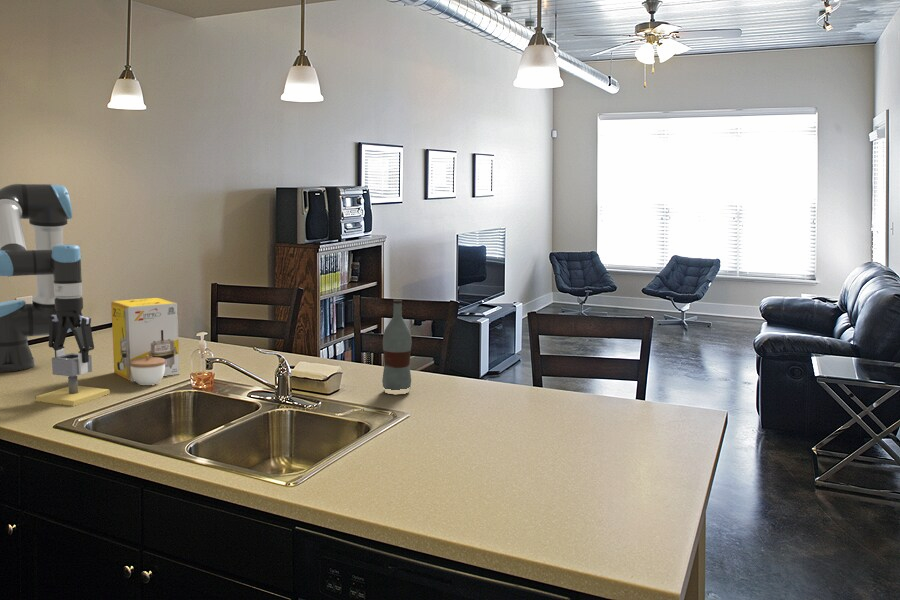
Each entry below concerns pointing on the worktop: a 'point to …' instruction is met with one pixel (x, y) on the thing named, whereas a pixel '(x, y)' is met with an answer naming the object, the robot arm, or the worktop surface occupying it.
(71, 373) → the grey square hollow block
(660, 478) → the worktop surface
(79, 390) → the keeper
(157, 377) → the lidded jar
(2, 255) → the robot arm
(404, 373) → the bottle
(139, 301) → the packaging box
